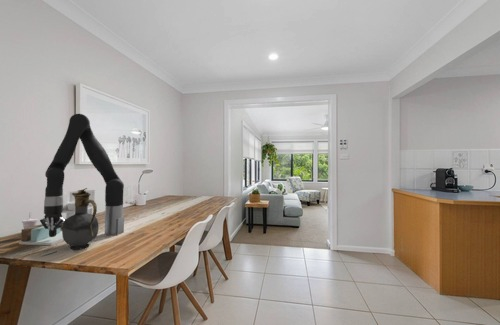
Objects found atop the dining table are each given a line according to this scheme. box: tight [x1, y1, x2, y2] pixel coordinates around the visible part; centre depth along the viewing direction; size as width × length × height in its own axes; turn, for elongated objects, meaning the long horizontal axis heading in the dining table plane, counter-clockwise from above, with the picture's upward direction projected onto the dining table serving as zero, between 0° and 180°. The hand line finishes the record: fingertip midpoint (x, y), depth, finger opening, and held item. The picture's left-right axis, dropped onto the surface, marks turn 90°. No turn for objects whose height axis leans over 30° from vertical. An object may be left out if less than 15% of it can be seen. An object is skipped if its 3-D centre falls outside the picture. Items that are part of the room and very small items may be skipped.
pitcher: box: [61, 187, 99, 251], centre depth 107 cm, size 11×19×30 cm, turn 67°
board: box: [19, 230, 65, 246], centre depth 120 cm, size 17×20×1 cm
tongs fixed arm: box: [20, 223, 51, 242], centre depth 118 cm, size 15×3×6 cm, turn 179°
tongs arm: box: [31, 226, 62, 241], centre depth 119 cm, size 17×4×7 cm, turn 4°
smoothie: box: [21, 211, 39, 229], centre depth 122 cm, size 6×6×14 cm
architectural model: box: [61, 189, 98, 219], centre depth 149 cm, size 28×21×23 cm
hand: (52, 236), depth 114 cm, fingers closed
